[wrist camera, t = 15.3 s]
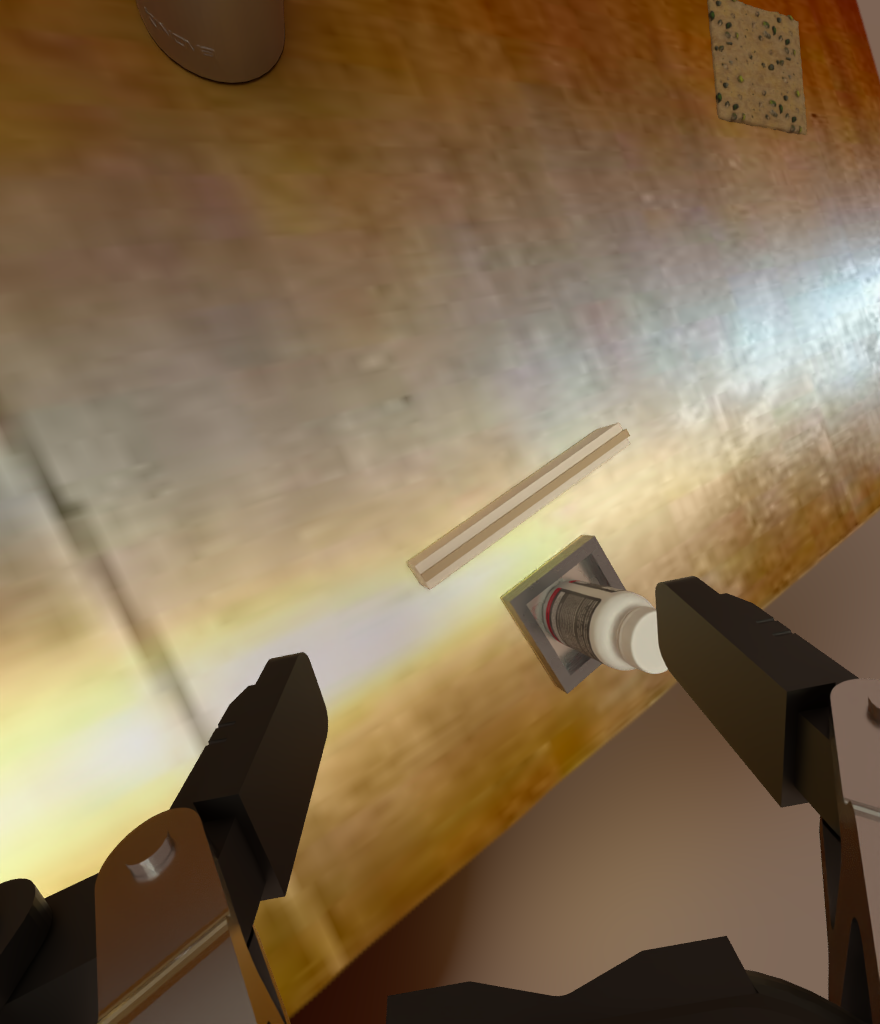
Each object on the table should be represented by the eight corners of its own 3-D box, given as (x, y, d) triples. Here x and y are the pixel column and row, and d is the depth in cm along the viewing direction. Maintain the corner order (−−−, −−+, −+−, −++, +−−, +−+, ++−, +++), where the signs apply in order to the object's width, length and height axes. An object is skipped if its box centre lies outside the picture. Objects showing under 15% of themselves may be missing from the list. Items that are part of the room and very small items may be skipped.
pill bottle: (560, 656, 37) (646, 703, 27) (529, 602, 36) (606, 632, 27) (607, 618, 38) (704, 651, 29) (578, 566, 37) (669, 581, 28)
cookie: (804, 140, 47) (814, 132, 46) (713, 123, 43) (722, 114, 42) (794, 25, 47) (804, 15, 46) (702, -1, 43) (711, -13, 42)
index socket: (555, 685, 37) (567, 693, 35) (500, 597, 36) (509, 601, 34) (631, 620, 39) (646, 624, 37) (581, 535, 38) (594, 535, 36)
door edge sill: (420, 583, 34) (431, 590, 31) (406, 562, 34) (416, 566, 30) (607, 449, 39) (634, 443, 36) (596, 429, 39) (622, 421, 35)
